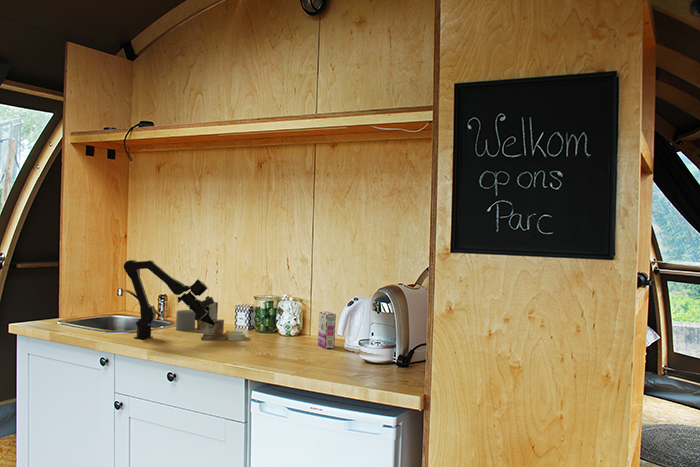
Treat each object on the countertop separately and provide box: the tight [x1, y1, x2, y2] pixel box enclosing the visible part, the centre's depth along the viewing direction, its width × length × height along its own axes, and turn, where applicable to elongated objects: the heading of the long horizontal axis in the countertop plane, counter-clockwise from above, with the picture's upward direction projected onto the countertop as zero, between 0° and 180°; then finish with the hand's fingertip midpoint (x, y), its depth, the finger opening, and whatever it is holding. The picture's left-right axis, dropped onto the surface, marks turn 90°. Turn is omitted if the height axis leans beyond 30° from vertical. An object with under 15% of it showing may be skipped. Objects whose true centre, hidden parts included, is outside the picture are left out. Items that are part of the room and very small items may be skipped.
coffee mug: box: [175, 309, 197, 332], centre depth 290 cm, size 13×10×10 cm
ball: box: [223, 330, 232, 337], centre depth 266 cm, size 4×4×4 cm
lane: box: [200, 333, 229, 341], centre depth 264 cm, size 13×9×2 cm
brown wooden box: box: [213, 318, 225, 337], centre depth 265 cm, size 4×6×9 cm
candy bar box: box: [317, 311, 337, 350], centre depth 253 cm, size 11×5×16 cm, turn 22°
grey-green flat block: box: [227, 330, 246, 341], centre depth 266 cm, size 8×9×3 cm
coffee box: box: [196, 301, 219, 334], centre depth 282 cm, size 9×6×16 cm
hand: (214, 324), depth 264 cm, fingers closed, pressing on brown wooden box
